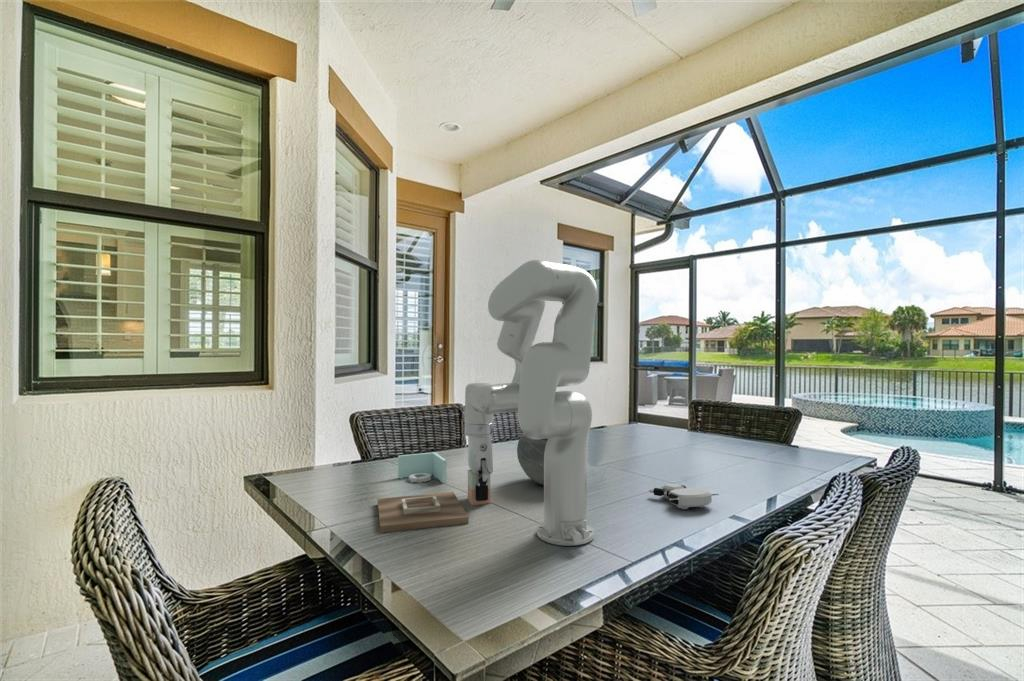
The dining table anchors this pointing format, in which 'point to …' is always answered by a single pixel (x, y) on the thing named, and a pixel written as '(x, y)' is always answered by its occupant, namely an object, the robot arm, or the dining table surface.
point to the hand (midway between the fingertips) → (478, 495)
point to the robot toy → (684, 495)
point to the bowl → (532, 457)
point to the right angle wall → (422, 467)
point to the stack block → (472, 488)
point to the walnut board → (420, 512)
